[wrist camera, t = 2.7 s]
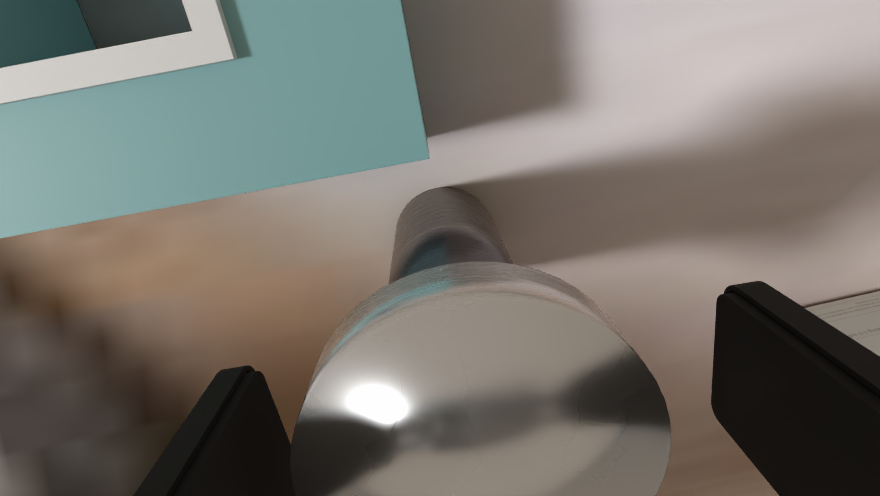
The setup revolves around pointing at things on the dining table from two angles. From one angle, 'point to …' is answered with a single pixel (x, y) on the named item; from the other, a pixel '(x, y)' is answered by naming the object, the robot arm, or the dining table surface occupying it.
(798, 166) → the dining table surface
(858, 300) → the supplement box
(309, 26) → the dock
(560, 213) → the dining table surface
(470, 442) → the bolt
